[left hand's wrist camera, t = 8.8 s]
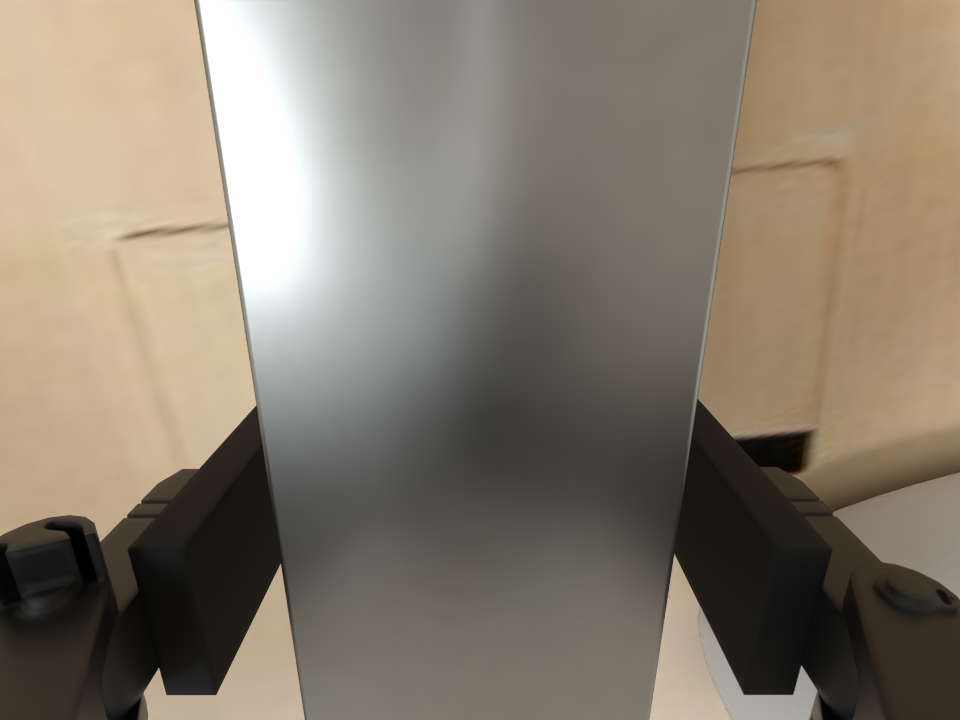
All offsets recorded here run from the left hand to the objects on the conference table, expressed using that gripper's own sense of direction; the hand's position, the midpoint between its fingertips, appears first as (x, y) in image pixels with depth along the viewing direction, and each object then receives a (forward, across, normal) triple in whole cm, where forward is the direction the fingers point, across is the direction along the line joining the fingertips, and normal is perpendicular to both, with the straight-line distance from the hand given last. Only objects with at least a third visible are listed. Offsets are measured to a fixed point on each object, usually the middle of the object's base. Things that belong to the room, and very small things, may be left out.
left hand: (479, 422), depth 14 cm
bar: (+1, 0, -9) cm, 9 cm away
